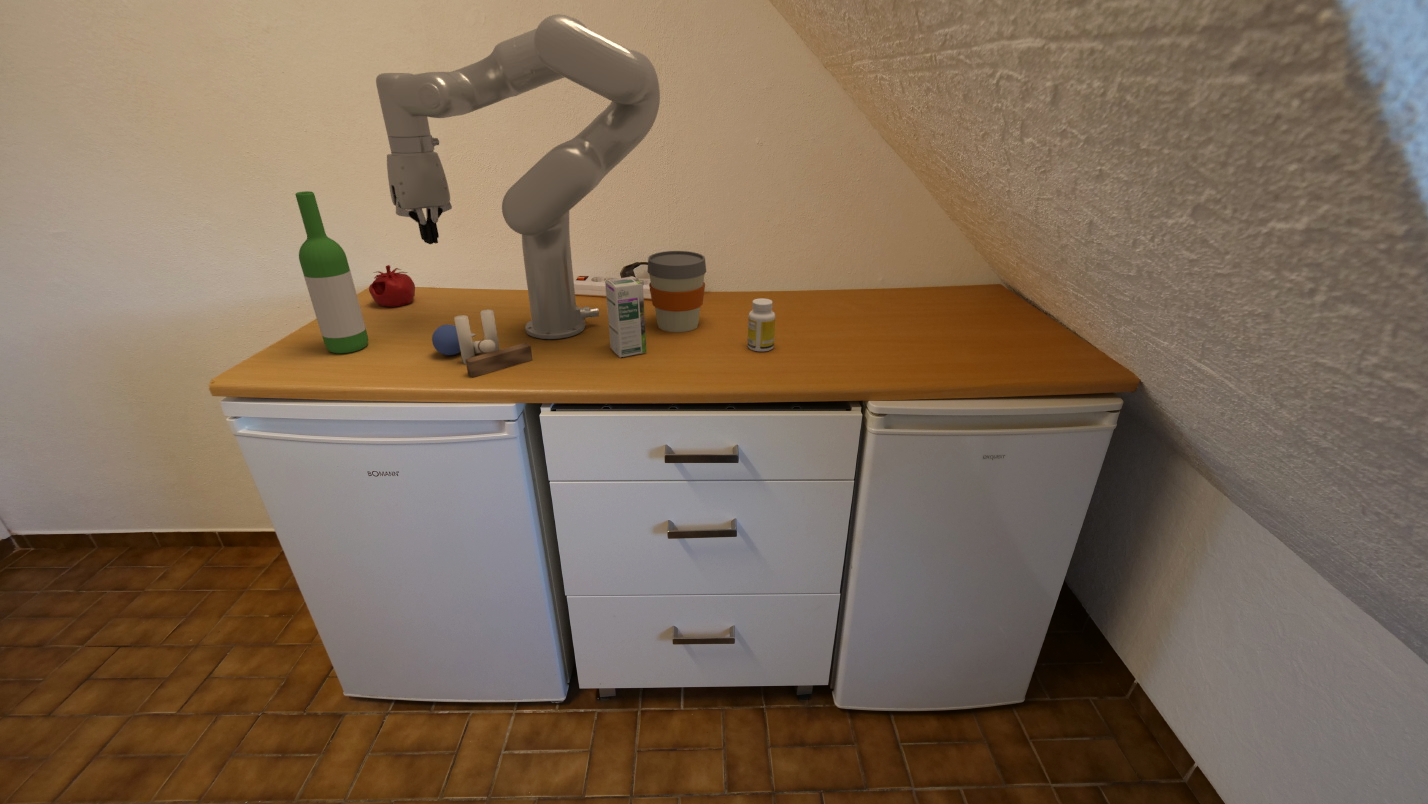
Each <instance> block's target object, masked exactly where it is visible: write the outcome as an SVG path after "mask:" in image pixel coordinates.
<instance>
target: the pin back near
mask: <svg viewBox="0 0 1428 804" xmlns="http://www.w3.org/2000/svg"><path fill="white" fill-rule="evenodd" d="M479 315H480V318H481V323H482V324H481V325H482V331H483V336H484V337H483V338H484V340H492V341H493V342H494V343H495V346H496V347H495V350H494V351H497V350H501V349H500V343H499V337H498V336H499V335H498V331H497V324H496V320H495V312H494V310H493V309H490V308H489V309H483V310H481V311H480V313H479ZM494 351H493V352H494ZM489 353H490V352H489Z"/></svg>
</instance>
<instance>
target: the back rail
mask: <svg viewBox="0 0 1428 804" xmlns="http://www.w3.org/2000/svg"><path fill="white" fill-rule="evenodd" d="M533 360H534V359H533V352H532V346H531V345H530V344H529V343H527V342H524V343H519V344H516V345H513V346H510V347H505V348H502V349H500V350H497V351H494V352H490V353H482V354H479V355H475V357H472V358H468V359H465V361H466V364H465V365H466V371H467V375H468V376H469V377H471V378H473V379H474V378H476V377H479V376H483V375H486V373H487V374H490V373H493V372H496V371H500V370H503V369H507V368H511V367H514V366H516V365H521V364H525V363H527V362H531V361H533Z"/></svg>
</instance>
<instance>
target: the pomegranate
mask: <svg viewBox="0 0 1428 804" xmlns="http://www.w3.org/2000/svg"><path fill="white" fill-rule="evenodd" d="M385 270H386V272H383V271H379V270H378V271H375V272H373V273H379V274H376V275H375V276H374V277H373V279H374V280H373V282H372V283H371V284H370V285H369V287H368V291H369V294H370V296H371V298H372V299H373V301H374V302H375V303H376V304H378V305H379V306H382V307H387V308H388V307H389V308H391V307H392V308H395V307H398V306H399V307H402V306H405V305H406V306H407V305H408V304H410V303H413V301H414V298H415V296H416V293H415V292H416V285H415V282H414V280H413V279H412V277H410V276H409V275H408V274H407V273H409V272H408V271H407V272H406V271H401V270H403V269H402V268H398V267H396V268H394V269H393V270H392V271H391V265H390V264H387V265H385ZM398 270H399V272H396V271H398Z"/></svg>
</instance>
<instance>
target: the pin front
mask: <svg viewBox="0 0 1428 804" xmlns="http://www.w3.org/2000/svg"><path fill="white" fill-rule="evenodd" d="M472 342H473V347H474V352H475V355H476V354H486V353H489V352H493V351H494V350H495V347H496V346H495V343H494V342H493V341H492V340H485V339H482V340H475V341H472Z"/></svg>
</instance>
